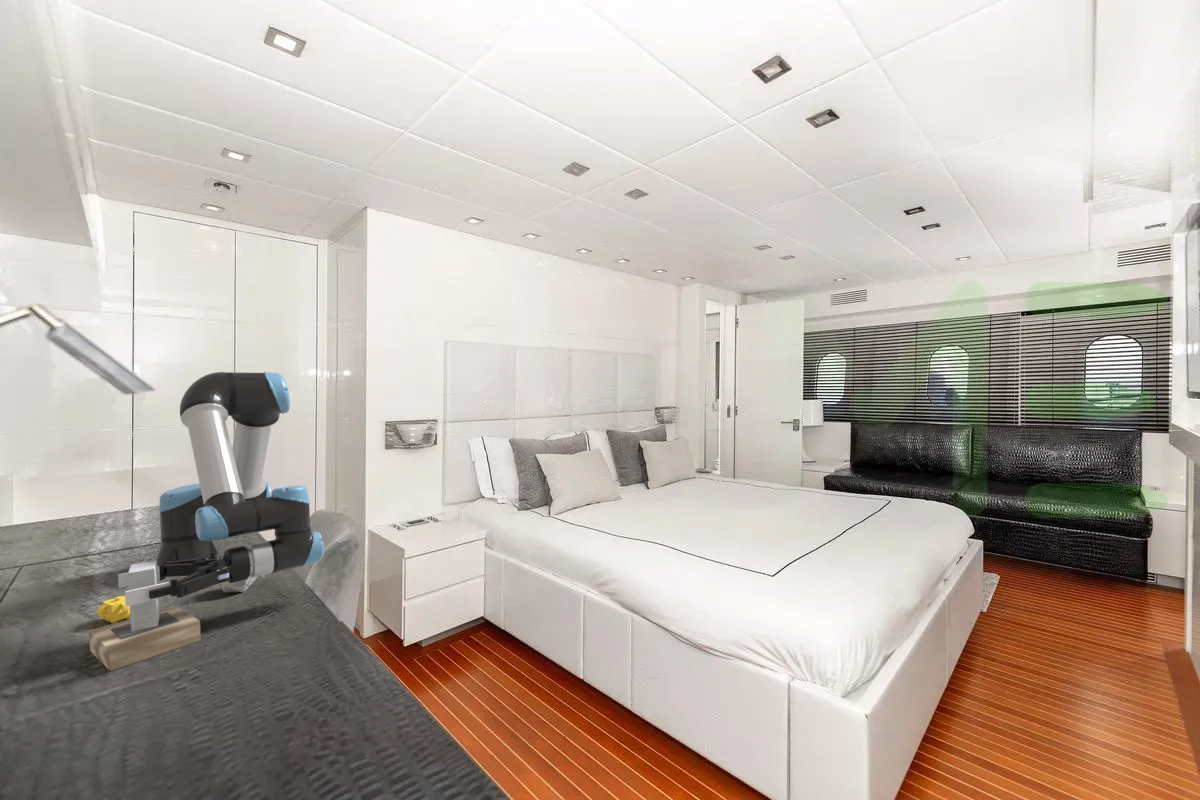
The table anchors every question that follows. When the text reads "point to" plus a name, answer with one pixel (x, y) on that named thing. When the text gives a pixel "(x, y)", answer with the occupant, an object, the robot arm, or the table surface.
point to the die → (237, 585)
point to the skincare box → (147, 611)
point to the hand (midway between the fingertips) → (121, 589)
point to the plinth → (143, 638)
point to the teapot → (114, 610)
